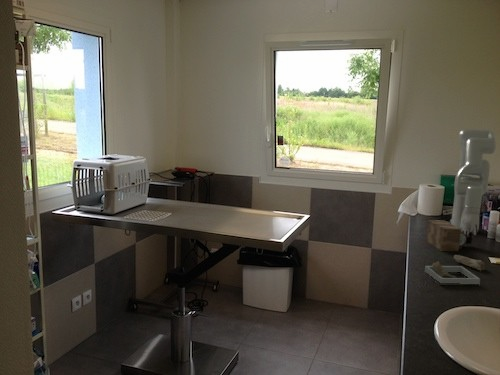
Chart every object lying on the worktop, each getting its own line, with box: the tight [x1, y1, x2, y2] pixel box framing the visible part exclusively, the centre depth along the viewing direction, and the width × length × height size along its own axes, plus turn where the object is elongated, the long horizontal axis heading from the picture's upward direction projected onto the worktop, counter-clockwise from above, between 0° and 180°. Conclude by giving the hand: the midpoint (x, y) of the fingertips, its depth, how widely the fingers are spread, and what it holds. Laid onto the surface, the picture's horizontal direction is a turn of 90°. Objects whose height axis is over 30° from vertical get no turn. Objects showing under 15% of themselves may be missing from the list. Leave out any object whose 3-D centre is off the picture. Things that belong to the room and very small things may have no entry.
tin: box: [459, 231, 467, 247], centre depth 240 cm, size 15×3×8 cm, turn 90°
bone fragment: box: [453, 254, 487, 272], centre depth 211 cm, size 14×6×5 cm, turn 32°
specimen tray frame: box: [424, 265, 481, 285], centre depth 195 cm, size 15×17×3 cm
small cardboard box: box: [425, 219, 463, 252], centre depth 240 cm, size 17×13×12 cm
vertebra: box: [431, 260, 457, 278], centre depth 195 cm, size 12×8×10 cm
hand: (467, 243), depth 242 cm, fingers closed
